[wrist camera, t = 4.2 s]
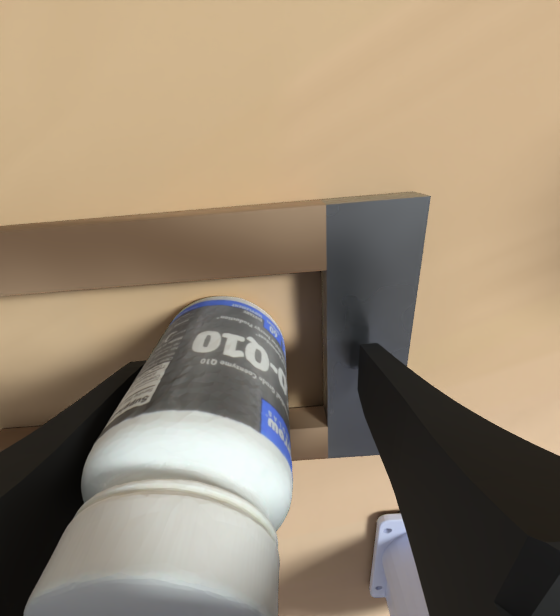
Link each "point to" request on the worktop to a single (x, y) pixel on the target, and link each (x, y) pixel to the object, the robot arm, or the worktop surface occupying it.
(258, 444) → the pill bottle
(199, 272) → the guide channel
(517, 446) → the robot arm
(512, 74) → the worktop surface
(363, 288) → the panel
